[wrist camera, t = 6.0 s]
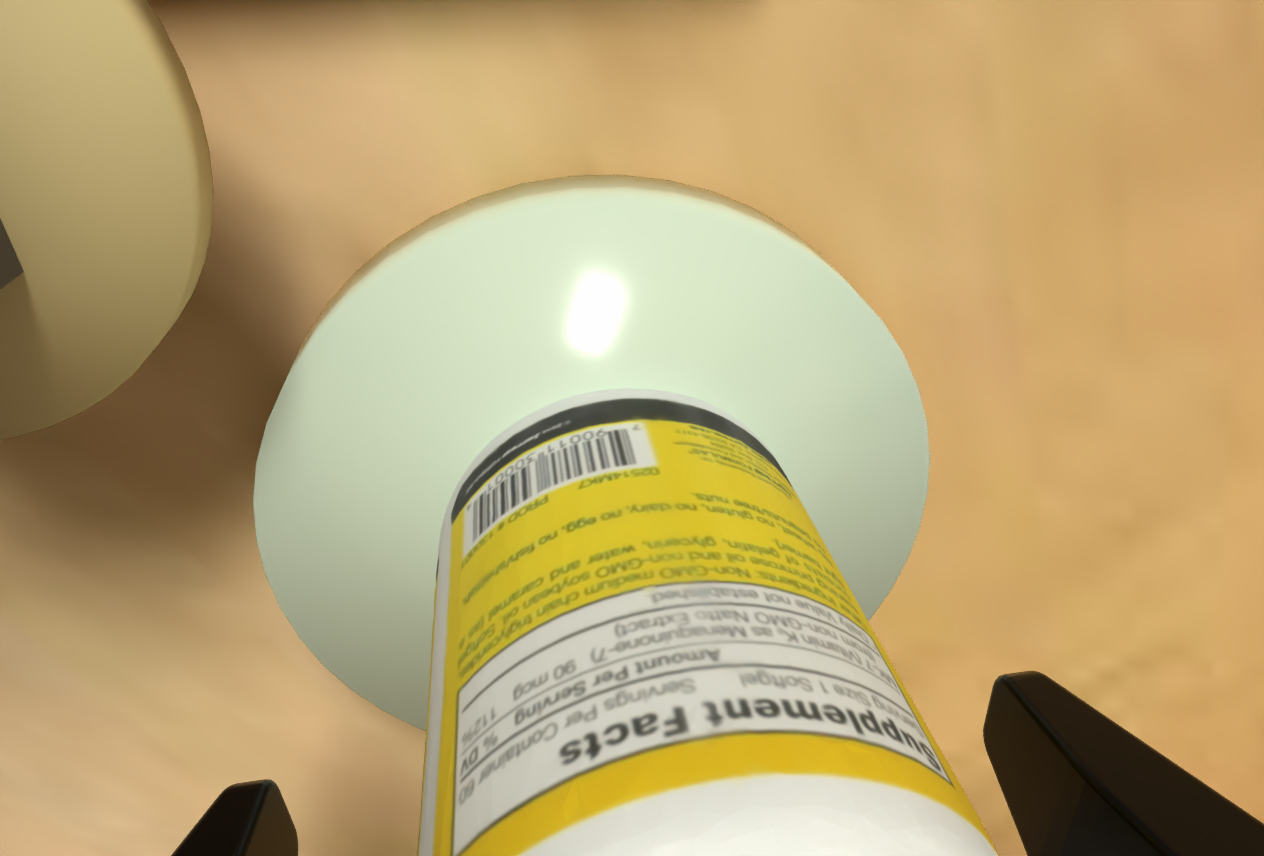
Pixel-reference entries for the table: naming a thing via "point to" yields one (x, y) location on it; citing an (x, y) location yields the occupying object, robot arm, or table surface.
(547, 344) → the sage dish
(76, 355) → the balance
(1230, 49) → the table surface
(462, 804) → the supplement bottle
